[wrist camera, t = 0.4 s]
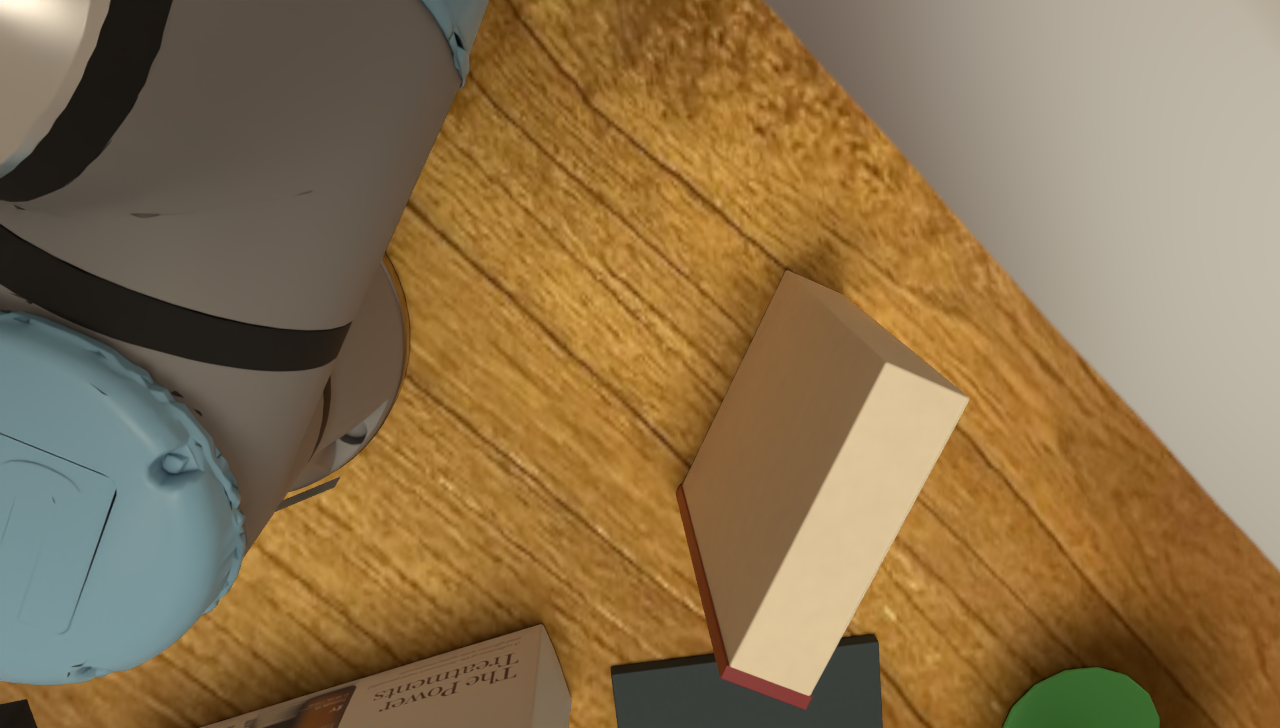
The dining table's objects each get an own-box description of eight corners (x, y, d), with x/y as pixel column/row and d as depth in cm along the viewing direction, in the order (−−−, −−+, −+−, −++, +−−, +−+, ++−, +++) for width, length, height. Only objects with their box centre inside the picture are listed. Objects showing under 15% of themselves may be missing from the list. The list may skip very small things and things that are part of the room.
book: (784, 268, 51) (883, 360, 34) (846, 296, 51) (974, 399, 35) (675, 494, 54) (719, 678, 37) (736, 518, 54) (806, 711, 38)
